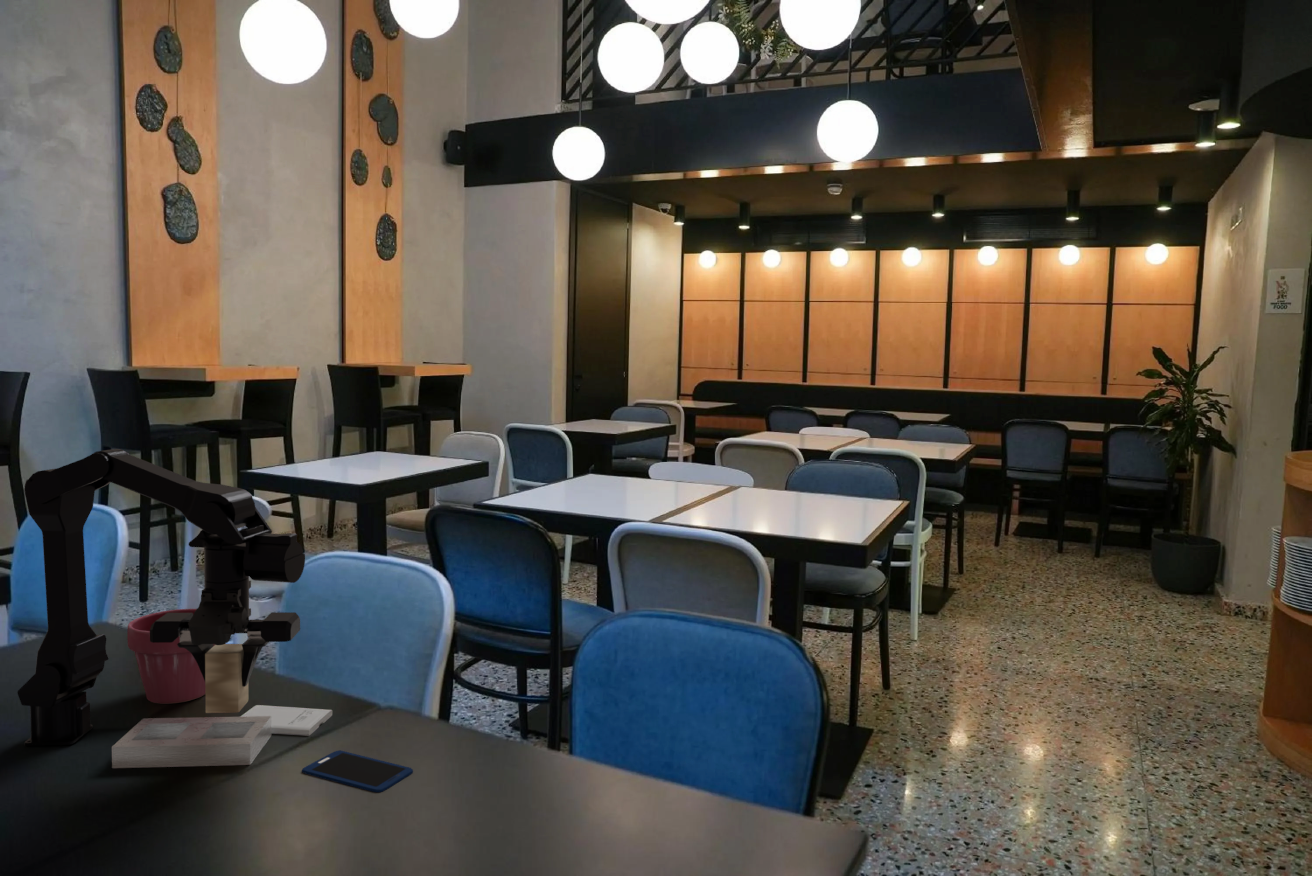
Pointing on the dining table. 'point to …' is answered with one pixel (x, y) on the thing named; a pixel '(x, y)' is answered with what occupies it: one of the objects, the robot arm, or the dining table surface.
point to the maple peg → (224, 679)
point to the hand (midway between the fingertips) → (227, 685)
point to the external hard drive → (291, 718)
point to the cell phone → (358, 771)
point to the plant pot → (164, 663)
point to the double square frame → (192, 742)
